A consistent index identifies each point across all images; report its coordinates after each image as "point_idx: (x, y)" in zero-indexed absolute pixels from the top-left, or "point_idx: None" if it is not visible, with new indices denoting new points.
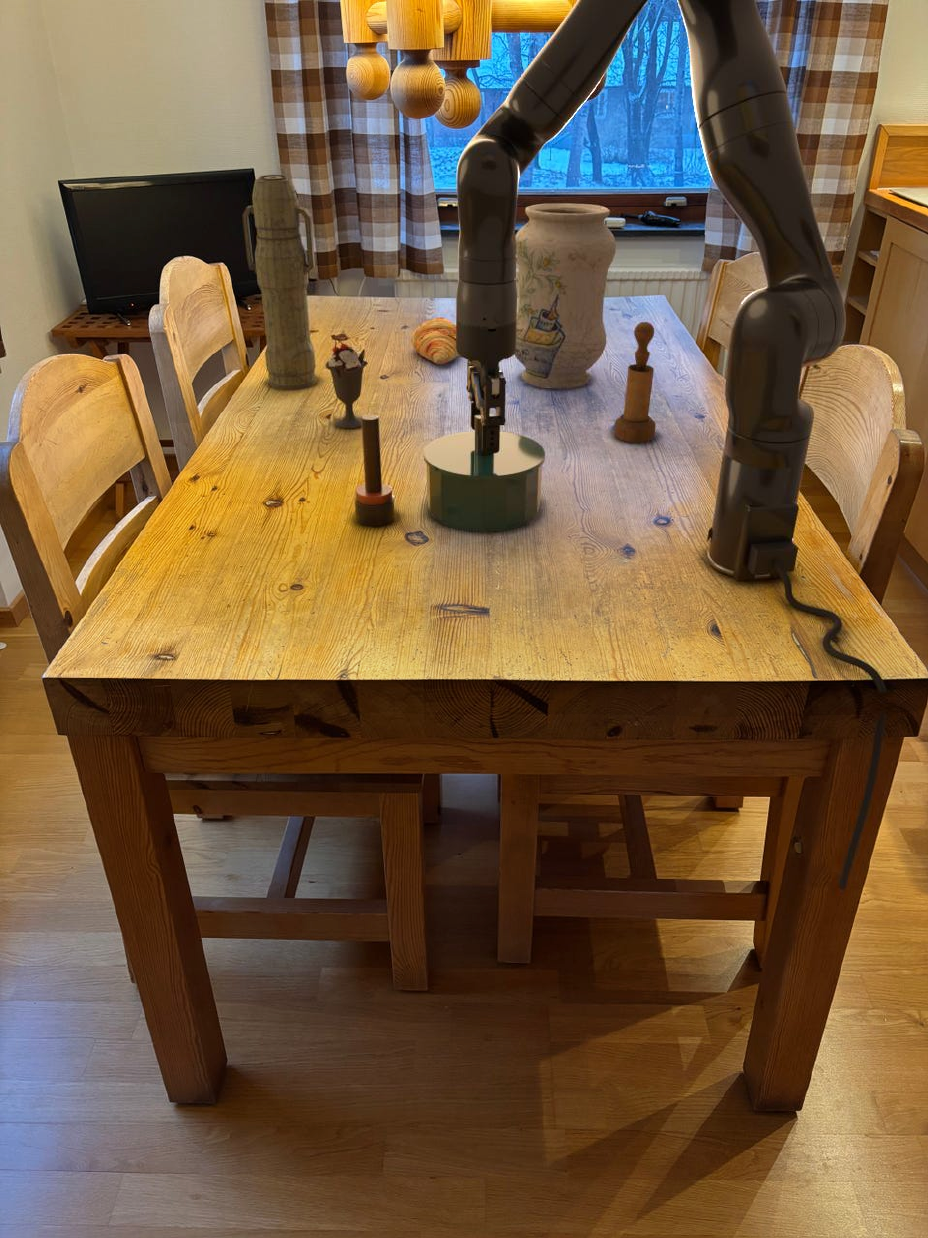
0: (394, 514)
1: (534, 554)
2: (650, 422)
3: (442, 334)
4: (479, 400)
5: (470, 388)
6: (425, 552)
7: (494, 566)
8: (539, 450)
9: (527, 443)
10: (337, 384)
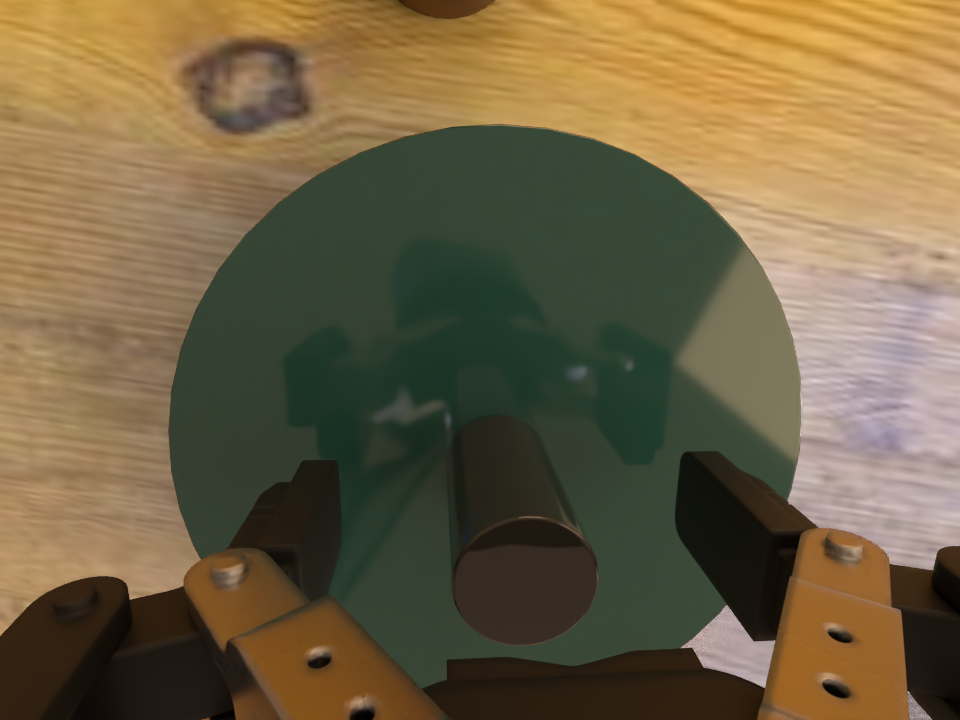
0: (433, 12)
1: (104, 473)
2: None
3: None
4: (248, 681)
5: (781, 618)
6: (124, 104)
7: (13, 336)
8: None
9: (568, 663)
10: None
